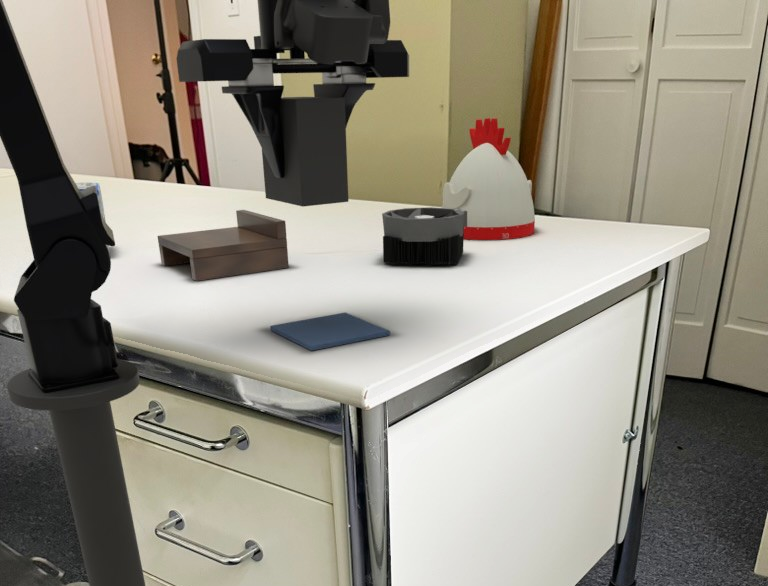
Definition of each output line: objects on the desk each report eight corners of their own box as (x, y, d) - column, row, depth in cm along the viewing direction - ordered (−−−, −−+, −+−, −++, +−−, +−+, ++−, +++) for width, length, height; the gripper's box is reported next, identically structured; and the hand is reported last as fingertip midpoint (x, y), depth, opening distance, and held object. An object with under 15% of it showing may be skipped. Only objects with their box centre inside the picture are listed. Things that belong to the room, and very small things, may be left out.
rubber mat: (311, 350, 68) (310, 346, 68) (270, 330, 74) (269, 325, 74) (390, 335, 72) (390, 330, 72) (345, 316, 78) (345, 312, 78)
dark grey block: (302, 206, 67) (295, 98, 63) (265, 198, 72) (257, 98, 68) (348, 201, 69) (344, 97, 65) (309, 194, 74) (303, 96, 71)
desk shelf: (196, 281, 93) (189, 231, 90) (161, 264, 102) (154, 218, 99) (289, 267, 99) (285, 220, 96) (248, 253, 108) (244, 209, 105)
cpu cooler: (375, 217, 95) (390, 205, 104) (376, 266, 98) (390, 250, 107) (462, 217, 94) (469, 205, 102) (460, 268, 96) (468, 252, 105)
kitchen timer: (493, 221, 127) (498, 115, 120) (554, 232, 117) (562, 117, 110) (421, 230, 121) (421, 119, 113) (478, 243, 110) (482, 122, 103)
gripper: (220, -65, 52) (244, 193, 59) (450, -49, 61) (446, 174, 68) (161, -44, 60) (189, 181, 68) (371, -32, 69) (375, 165, 76)
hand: (304, 175), depth 70 cm, fingers closed on dark grey block, 4 cm apart
